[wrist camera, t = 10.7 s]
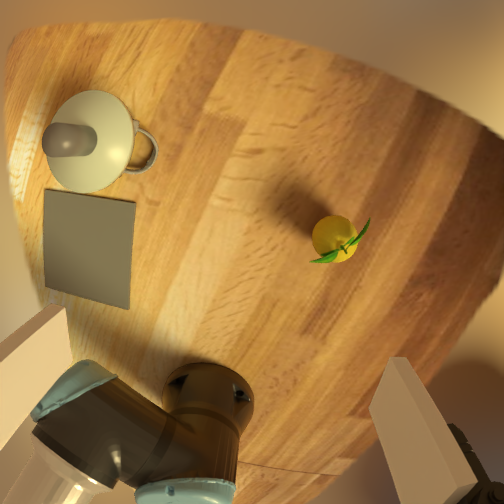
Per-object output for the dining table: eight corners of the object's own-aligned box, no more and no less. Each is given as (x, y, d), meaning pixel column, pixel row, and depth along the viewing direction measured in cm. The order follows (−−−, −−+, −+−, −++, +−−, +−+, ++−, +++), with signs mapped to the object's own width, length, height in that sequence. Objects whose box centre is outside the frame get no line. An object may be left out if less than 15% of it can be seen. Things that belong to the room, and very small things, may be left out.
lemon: (354, 208, 41) (379, 222, 31) (353, 251, 42) (376, 277, 33) (304, 208, 41) (315, 222, 31) (304, 252, 43) (314, 279, 33)
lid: (127, 198, 34) (98, 207, 27) (46, 187, 34) (10, 194, 27) (143, 91, 31) (115, 78, 24) (58, 92, 31) (23, 84, 24)
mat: (129, 308, 46) (128, 309, 46) (47, 285, 46) (45, 286, 46) (136, 203, 42) (134, 203, 41) (46, 189, 42) (45, 189, 41)
